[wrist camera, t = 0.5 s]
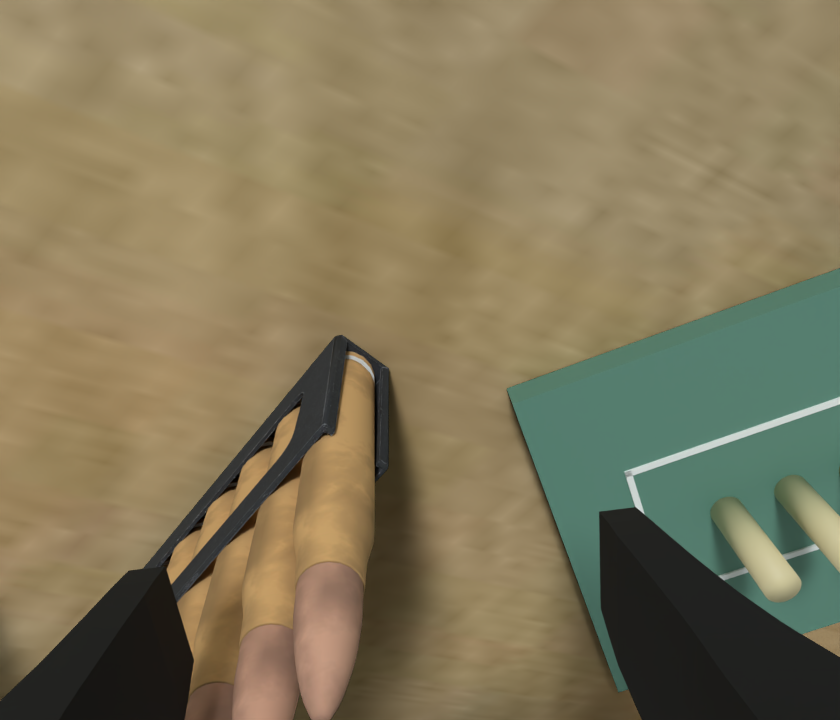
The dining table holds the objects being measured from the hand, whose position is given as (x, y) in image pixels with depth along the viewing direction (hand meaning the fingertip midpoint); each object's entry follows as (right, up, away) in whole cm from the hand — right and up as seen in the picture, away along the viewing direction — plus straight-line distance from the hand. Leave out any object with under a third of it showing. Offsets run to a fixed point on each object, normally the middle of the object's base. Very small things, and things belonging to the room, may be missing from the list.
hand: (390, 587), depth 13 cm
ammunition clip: (-5, 0, +11) cm, 12 cm away
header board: (+12, 0, +11) cm, 16 cm away
